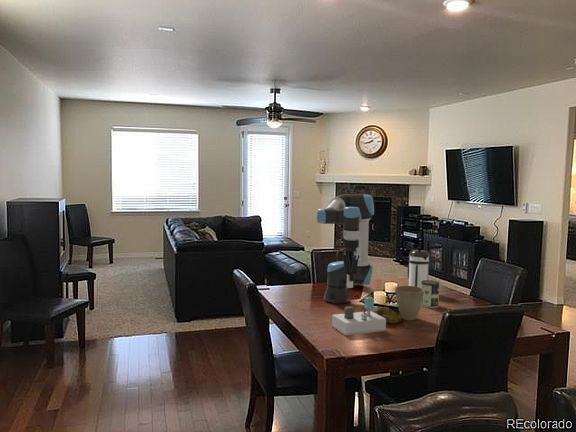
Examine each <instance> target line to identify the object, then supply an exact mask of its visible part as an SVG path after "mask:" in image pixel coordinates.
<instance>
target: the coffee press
mask: <svg viewBox="0 0 576 432" xmlns="http://www.w3.org/2000/svg"><path fill="white" fill-rule="evenodd" d="M408 256H409V258H408V263H407V278H408V282H407V283H408V284H407V286H415V287H420V288H421V281H424V280H429V270H430V256H431V255H430V254H429V251H426V250H422V247H421V246H417V249H413V250H411V251H410V252H409V253H408Z"/></svg>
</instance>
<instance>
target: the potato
mask: <svg viewBox="0 0 576 432" xmlns="http://www.w3.org/2000/svg"><path fill="white" fill-rule="evenodd" d="M376 314H378V315H380V316H382V317H383V318H385V319H386V324H392V325H394V324H398V323H400V322H401V321H402V320H403V319H402V315H401V314H400V312H396V311H394V310H392V309H390V308H389V307H387V306H380V307H378V308H377V310H376Z"/></svg>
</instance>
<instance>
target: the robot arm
mask: <svg viewBox="0 0 576 432" xmlns="http://www.w3.org/2000/svg"><path fill="white" fill-rule="evenodd" d="M374 215H375V205H374V197H373V196H372V195H371V194H365V193H357V194H356V193H344V194H340V195H337V196H335V197H333V198H332V199H331V200H330V201H329V203H328V205H327V207H326V208H319V209H317V211H316V222H317V224H323V225H325V224H327V225H343V232H342V235H343V241H342V247H343V248H344V250H345V252H343V251H341V252H342V257H343V258H342V261H340V260H339V262H338V261H333V262H330V263H329V264H328V265H327V270H326V273H327V275H326V278H327V280H326V281H327V283H326V285H327V286H326V289H325V292H324V296H323V301H324V300H325V301H324V302H326V301H328V302H327V303H329V302H332V303H331V304H346V303H345V302H347V303H349V302H350V296H349V292H348V289H352V288H354V286H353V284H354V285H357V286H369V285H370V284H371V281H372V275H373V270H374V269H373V268H374V267H373V266H372V265H371V262H370V260H369V228H370V226H369V224H370V223H369V222H370V220H371V219H372V217H373V216H374ZM348 301H349V302H348Z"/></svg>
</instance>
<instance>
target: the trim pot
mask: <svg viewBox="0 0 576 432" xmlns="http://www.w3.org/2000/svg"><path fill="white" fill-rule="evenodd" d="M362 312H363V313H362V314H361V320H364V321H365V320H367V313H365V312H366V311H362Z"/></svg>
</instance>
